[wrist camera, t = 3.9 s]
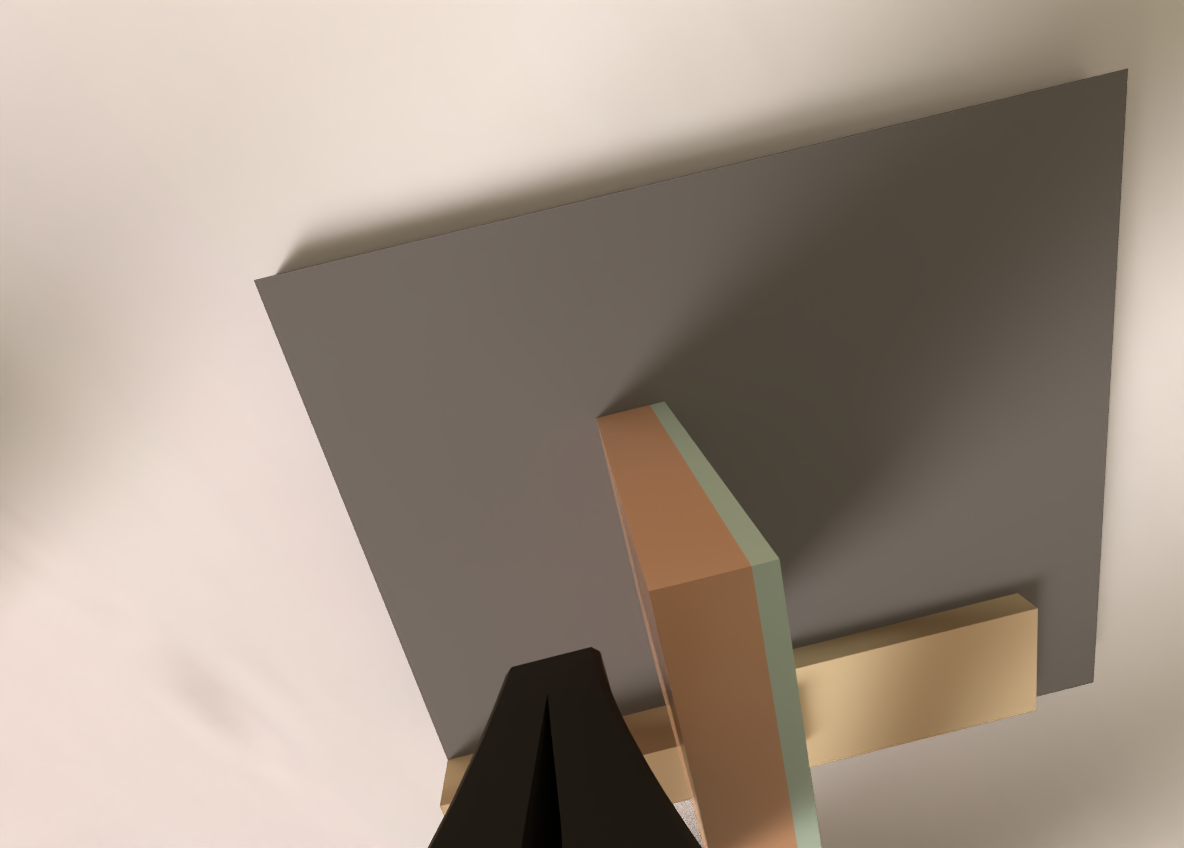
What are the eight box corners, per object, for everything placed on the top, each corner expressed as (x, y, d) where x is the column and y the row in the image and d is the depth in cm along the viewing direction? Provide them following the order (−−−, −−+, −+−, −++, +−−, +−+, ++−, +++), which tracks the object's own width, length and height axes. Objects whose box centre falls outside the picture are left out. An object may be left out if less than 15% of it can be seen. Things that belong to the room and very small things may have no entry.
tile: (653, 658, 14) (734, 959, 8) (596, 418, 12) (648, 591, 6) (712, 644, 14) (834, 934, 8) (664, 401, 12) (779, 558, 6)
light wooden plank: (475, 828, 15) (470, 878, 14) (438, 737, 14) (430, 782, 13) (1017, 692, 15) (1056, 730, 14) (1017, 593, 14) (1059, 624, 13)
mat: (481, 807, 16) (478, 837, 15) (272, 276, 11) (253, 279, 11) (1066, 660, 16) (1093, 682, 15) (1089, 78, 11) (1127, 68, 11)
